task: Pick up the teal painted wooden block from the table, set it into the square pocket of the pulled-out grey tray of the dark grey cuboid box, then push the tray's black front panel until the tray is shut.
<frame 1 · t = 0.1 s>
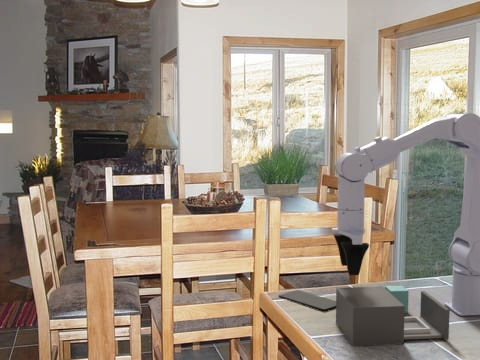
hand: (350, 269, 128), 10 cm above the counter, tool pointing down, fingers open, 7 cm apart
block: (396, 309, 132), on the counter
smartphone: (310, 303, 138), on the counter
dark grey cuboid box: (368, 332, 118), on the counter
tray: (412, 315, 118), point 3 cm above the counter, slide at 8.0 cm
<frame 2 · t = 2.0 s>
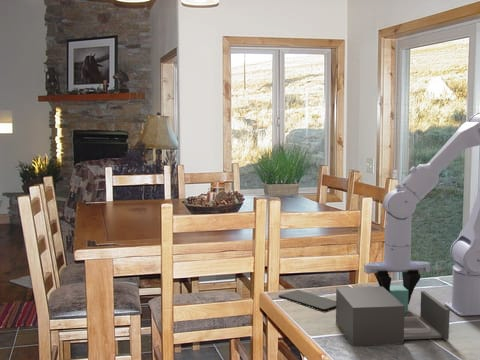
hand: (396, 303, 131), 1 cm above the counter, tool pointing down, fingers closed on block, 4 cm apart
block: (396, 309, 132), on the counter, touching gripper
everything else where it was.
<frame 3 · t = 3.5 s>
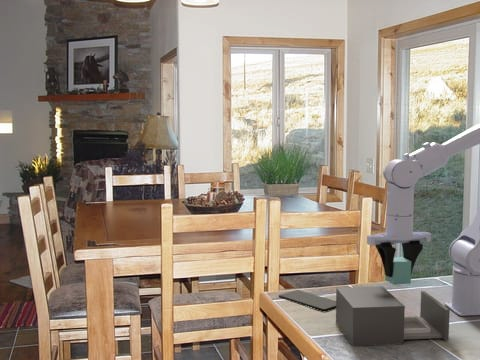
hand: (398, 275, 129), 8 cm above the counter, tool pointing down, fingers closed on block, 4 cm apart
block: (397, 281, 129), point 7 cm above the counter, touching gripper
everything else where it was.
when the fingers open (5 cm above the counter, at t = 5.2 s): block drops 2 cm, resting on tray.
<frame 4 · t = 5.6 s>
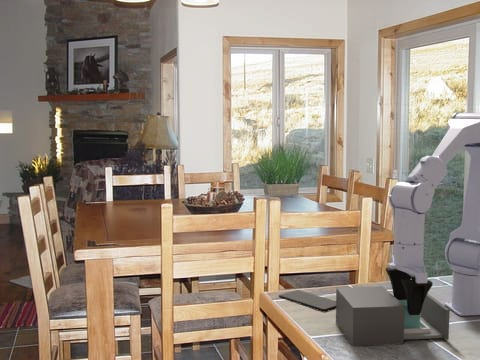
hand: (407, 308, 118), 5 cm above the counter, tool pointing down, fingers open, 7 cm apart
block: (406, 326, 118), point 1 cm above the counter, touching tray
tray: (412, 315, 118), point 3 cm above the counter, slide at 8.0 cm, touching block
everything else where it was.
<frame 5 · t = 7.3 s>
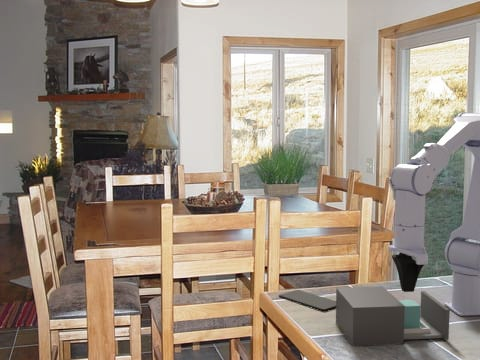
hand: (407, 290, 118), 8 cm above the counter, tool pointing down, fingers closed
nothing on the counter moved.
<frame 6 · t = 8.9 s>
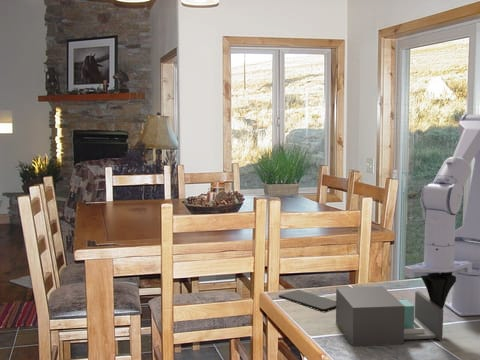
hand: (437, 308, 119), 4 cm above the counter, tool pointing down, fingers closed
block: (400, 327, 118), point 1 cm above the counter, touching tray
tray: (406, 315, 118), point 3 cm above the counter, slide at 6.7 cm, touching block, gripper
everything else where it was.
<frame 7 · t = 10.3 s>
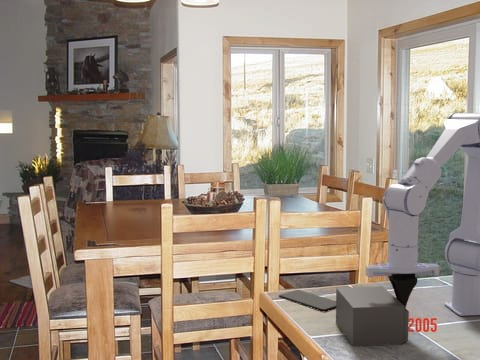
hand: (401, 310, 118), 4 cm above the counter, tool pointing down, fingers closed
block: (367, 328, 118), point 1 cm above the counter, touching tray
tray: (373, 316, 118), point 3 cm above the counter, slide at -0.1 cm, touching block, gripper
everything else where it was.
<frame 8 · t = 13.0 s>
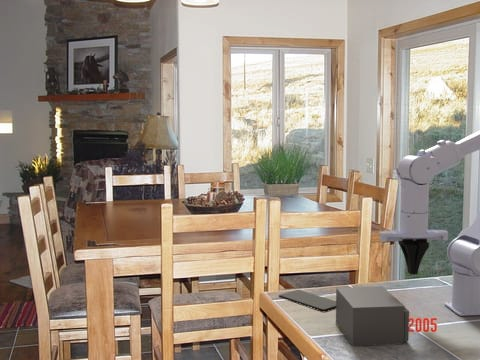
hand: (412, 273, 127), 9 cm above the counter, tool pointing down, fingers closed
tray: (374, 316, 118), point 3 cm above the counter, slide at 0.0 cm, touching block
everything else where it was.
at the end: tray slide at 0.0 cm; block inside the target area on the dark grey cuboid box (0.1 cm from its centre), point 0.9 cm above the dark grey cuboid box's base; block tilted 0° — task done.
